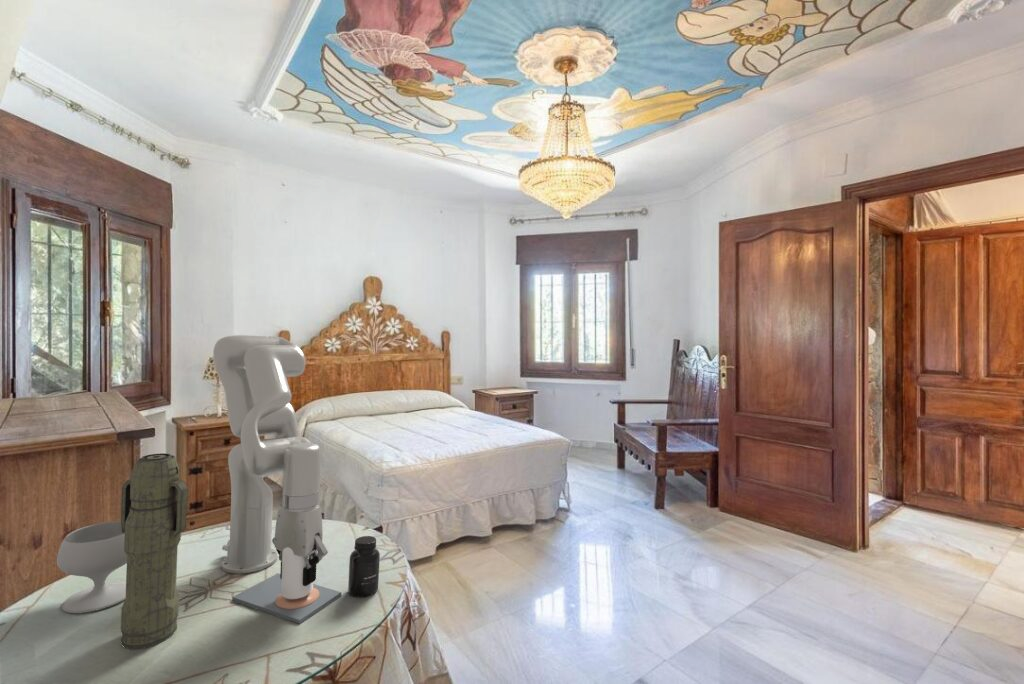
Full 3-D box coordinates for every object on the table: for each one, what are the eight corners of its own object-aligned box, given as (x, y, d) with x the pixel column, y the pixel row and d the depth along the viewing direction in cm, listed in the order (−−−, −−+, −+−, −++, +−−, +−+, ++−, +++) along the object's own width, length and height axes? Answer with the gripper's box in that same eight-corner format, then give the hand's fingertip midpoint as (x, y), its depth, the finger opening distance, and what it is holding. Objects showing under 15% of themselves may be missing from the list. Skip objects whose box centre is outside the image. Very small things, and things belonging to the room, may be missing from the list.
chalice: (114, 578, 112) (116, 515, 112) (154, 590, 108) (156, 525, 108) (39, 608, 99) (41, 537, 99) (81, 624, 95) (83, 549, 95)
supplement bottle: (369, 600, 107) (371, 547, 107) (342, 596, 108) (344, 544, 108) (383, 585, 113) (385, 535, 113) (357, 581, 115) (359, 532, 115)
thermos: (169, 648, 88) (175, 462, 88) (100, 650, 87) (107, 461, 87) (195, 620, 97) (201, 451, 97) (132, 622, 96) (139, 450, 96)
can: (288, 585, 109) (289, 533, 108) (317, 585, 109) (318, 533, 109) (276, 601, 102) (277, 545, 102) (307, 600, 103) (308, 545, 102)
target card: (232, 600, 105) (232, 596, 105) (277, 576, 116) (277, 572, 116) (299, 623, 97) (300, 619, 97) (341, 595, 108) (341, 591, 108)
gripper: (258, 498, 105) (255, 578, 105) (317, 511, 99) (314, 597, 99) (286, 489, 112) (283, 564, 112) (343, 500, 106) (340, 581, 106)
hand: (298, 578), depth 105 cm, fingers closed on can, 5 cm apart
